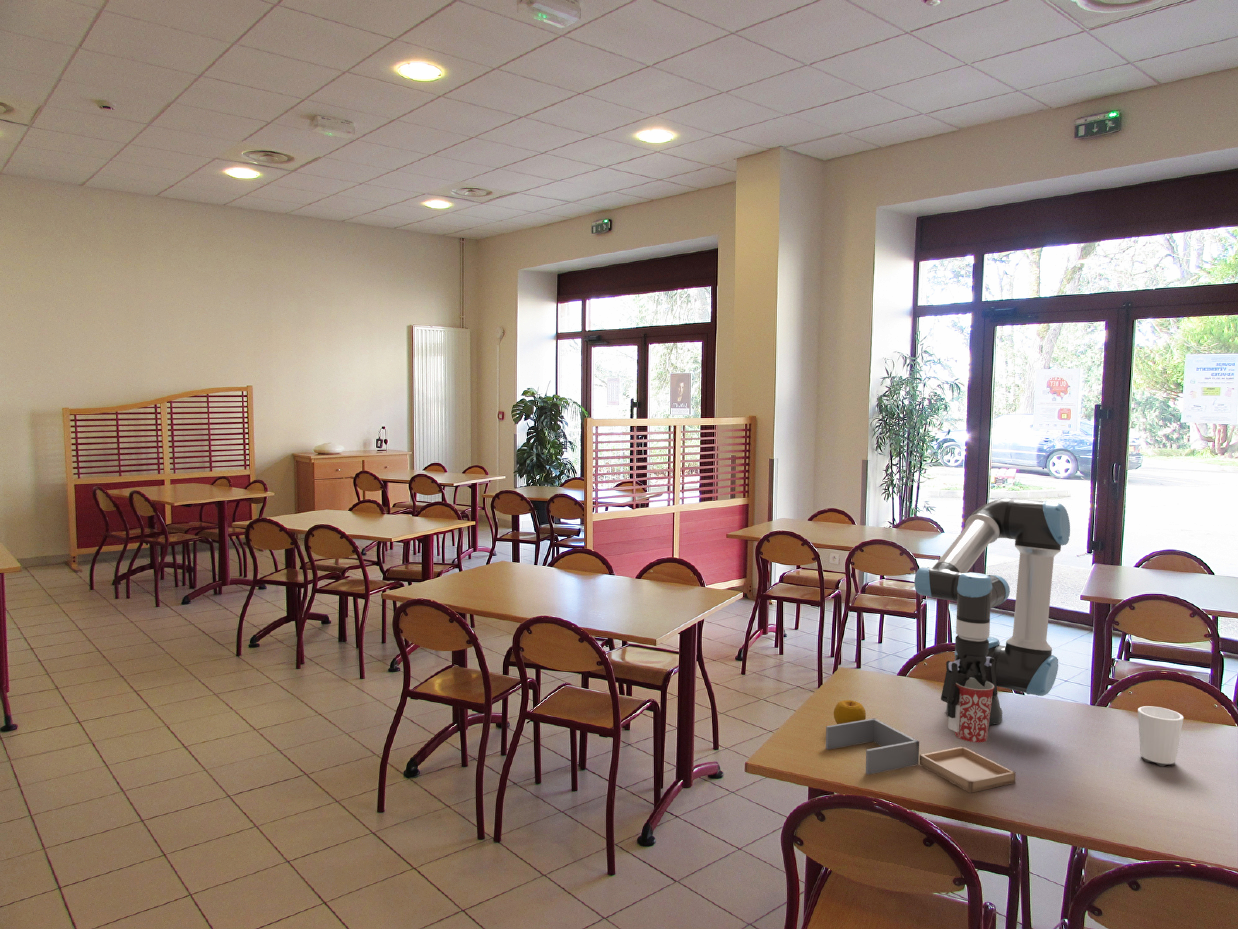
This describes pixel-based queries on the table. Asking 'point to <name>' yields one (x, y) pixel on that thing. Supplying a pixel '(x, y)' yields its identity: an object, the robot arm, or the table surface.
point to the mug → (974, 710)
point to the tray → (967, 769)
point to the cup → (1159, 734)
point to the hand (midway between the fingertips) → (968, 727)
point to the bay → (894, 743)
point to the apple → (849, 712)
